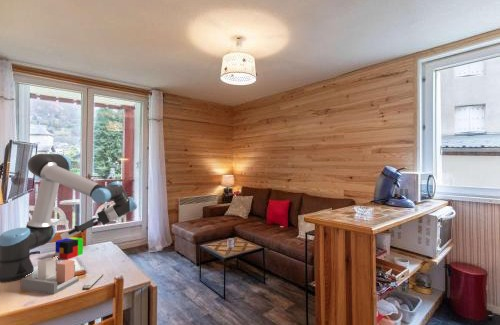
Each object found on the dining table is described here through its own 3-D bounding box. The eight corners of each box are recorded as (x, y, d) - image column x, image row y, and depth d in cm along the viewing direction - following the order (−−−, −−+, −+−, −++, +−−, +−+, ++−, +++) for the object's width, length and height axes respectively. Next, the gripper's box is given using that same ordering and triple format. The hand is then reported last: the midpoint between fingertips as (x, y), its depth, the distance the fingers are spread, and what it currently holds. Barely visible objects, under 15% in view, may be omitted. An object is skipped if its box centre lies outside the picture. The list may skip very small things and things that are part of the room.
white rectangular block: (48, 274, 129) (48, 257, 129) (56, 275, 128) (57, 258, 128) (37, 279, 123) (37, 261, 123) (45, 280, 122) (46, 262, 122)
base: (48, 277, 130) (48, 267, 130) (78, 281, 126) (78, 271, 126) (20, 289, 117) (21, 279, 117) (53, 294, 113) (54, 283, 113)
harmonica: (97, 276, 132) (97, 272, 132) (103, 276, 133) (103, 272, 133) (82, 290, 118) (82, 286, 118) (89, 290, 118) (89, 286, 118)
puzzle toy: (55, 257, 156) (55, 241, 156) (71, 252, 165) (71, 236, 165) (67, 259, 153) (67, 243, 153) (82, 254, 162) (83, 238, 162)
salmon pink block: (66, 277, 127) (67, 259, 126) (75, 278, 126) (75, 260, 126) (56, 282, 121) (56, 263, 121) (64, 283, 120) (65, 264, 120)
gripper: (109, 221, 129) (62, 244, 118) (111, 222, 150) (71, 241, 140) (103, 208, 129) (55, 230, 118) (105, 210, 150) (65, 229, 140)
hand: (63, 236), depth 129 cm, fingers open, 13 cm apart
